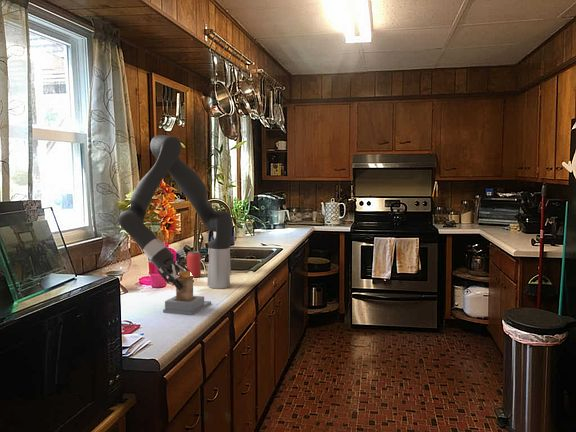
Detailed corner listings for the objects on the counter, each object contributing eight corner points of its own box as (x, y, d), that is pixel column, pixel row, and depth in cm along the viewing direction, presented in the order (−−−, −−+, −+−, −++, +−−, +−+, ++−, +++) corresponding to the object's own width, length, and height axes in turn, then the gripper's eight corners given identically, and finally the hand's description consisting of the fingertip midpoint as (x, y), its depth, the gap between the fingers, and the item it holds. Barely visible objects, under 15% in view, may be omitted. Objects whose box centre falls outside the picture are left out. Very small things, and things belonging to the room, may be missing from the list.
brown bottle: (176, 307, 187) (175, 272, 186) (182, 304, 191) (181, 270, 190) (187, 308, 185) (187, 273, 184) (193, 305, 190) (193, 271, 189)
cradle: (163, 312, 184) (162, 301, 184) (183, 301, 200) (183, 291, 199) (192, 315, 181) (192, 303, 181) (211, 303, 197) (211, 293, 196)
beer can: (185, 275, 248) (185, 251, 247) (199, 274, 251) (199, 250, 250) (188, 278, 242) (187, 253, 241) (202, 277, 245) (201, 252, 244)
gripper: (154, 249, 182) (184, 283, 180) (174, 244, 195) (202, 275, 193) (141, 263, 183) (171, 297, 181) (161, 257, 197) (189, 288, 195)
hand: (187, 286), depth 187 cm, fingers open, 8 cm apart
